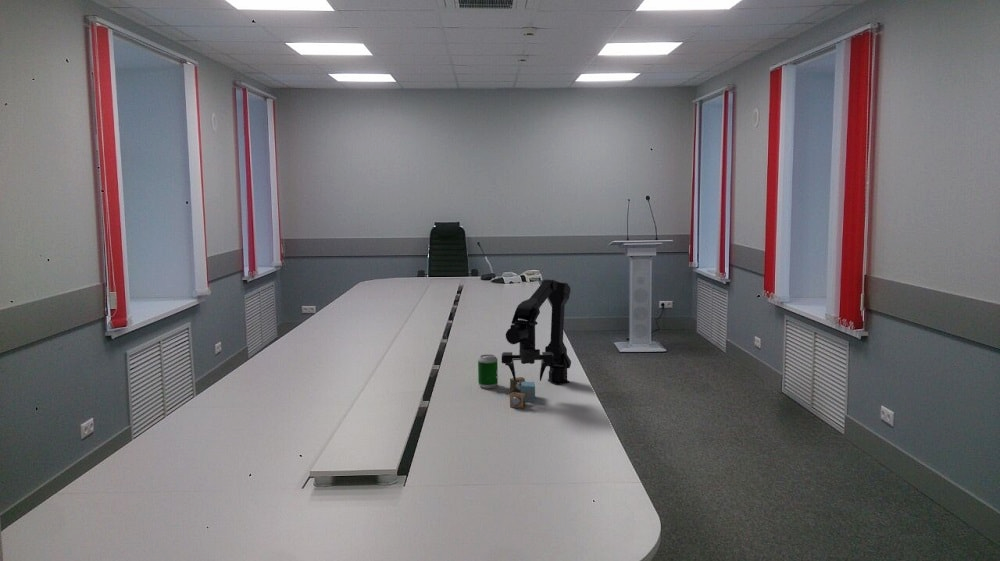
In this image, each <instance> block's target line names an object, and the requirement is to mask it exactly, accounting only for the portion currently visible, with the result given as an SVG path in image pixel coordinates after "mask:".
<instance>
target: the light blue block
mask: <svg viewBox="0 0 1000 561" xmlns="http://www.w3.org/2000/svg"><path fill="white" fill-rule="evenodd" d="M535 384H536V383H535V381H525V382H521V391H522V392H521V393H525V394H526V402H536V385H535Z"/></svg>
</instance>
